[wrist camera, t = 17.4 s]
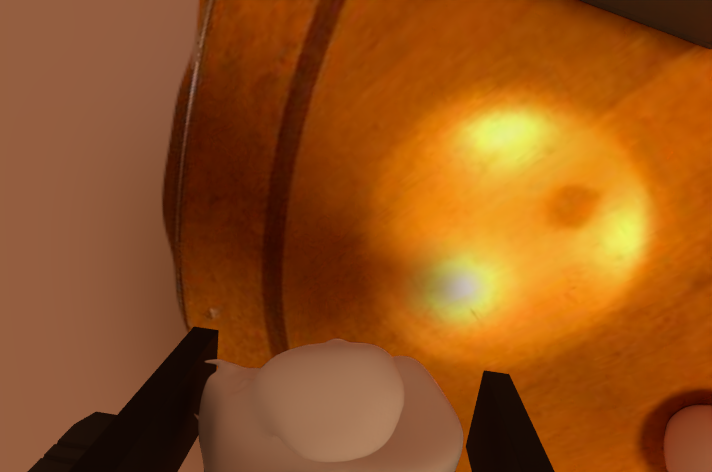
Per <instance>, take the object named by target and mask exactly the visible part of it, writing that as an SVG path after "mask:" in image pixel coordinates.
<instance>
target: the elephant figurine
mask: <svg viewBox="0 0 712 472" xmlns="http://www.w3.org/2000/svg"><path fill="white" fill-rule="evenodd" d="M205 362H206V363H212V364H216V365H218V370H217V371H216V372H215V373H213V374H212V375H211V376H210V377H209V378H208V380H207V382H206V384H205V387H204V390H203V394H202V398H201V403H200V409H199V416H198V415H196V414H194V415H195V416H196V418H197V419H198V433H199V442H200V448H201V452H202V457H203V464H204V472H455V469H456V467H457V464H458V461H459V458H460V455H461V451H462V446H463V431H462V427H461V424H460V421H459V419H458V417H457V415H456V413H455V411H454V409H453V407H452V406H451V404H450V403H449V401H448V399H447V398H446V396H445V394H444V393H443V391H442V390H441V388H440V387H439V385H438V384H437V382H436V381H435V380H434V378H433V377H432V376H431V374H430V373H429V372H428V371H427V370H426V368H425V367H424V366H423V365H422V364H421V363H420V362H418V361H417V360H415V359H413V358H410V357H407V356H395V357H392V356H391V355H390V354H389V353H388V352H387V351H385V350H384V349H383V348H381V347H379V346H376V345H373V344H368V343H357V342H348V341H346V340H343V339H331V340H329V341H327V342H325V343H318V344H311V345H305V346H300V347H297V348H293V349H290V350H288V351H285V352H283V353H280V354H279V355H277V356H275V357H273V358H272V359H270V360H269V361H268V362H267V363H266V364H265V365H264V366H263V367H262V368H245V367H241V366H239V365H236V364H234V363H231V362H227V361H224V360H220V359H213V360H207V361H205Z"/></svg>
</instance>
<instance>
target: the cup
mask: <svg viewBox="0 0 712 472" xmlns="http://www.w3.org/2000/svg"><path fill="white" fill-rule="evenodd" d="M663 448H664V459H665V464H666V469H667V472H712V405H692V406H688V407H686V408H683V409H681V410H680V411H678V412H677V413H675V414H674V415H673V416H672V417H671V419H670V420H669V421H668V423H667V426H666V429H665V435H664V447H663Z"/></svg>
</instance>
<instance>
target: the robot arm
mask: <svg viewBox="0 0 712 472" xmlns="http://www.w3.org/2000/svg"><path fill="white" fill-rule="evenodd" d="M218 332H219V330H213V329H206V328H200V327H193V328H192V330H191V331H190V332H189V333H188V334H187V335H186V337H185V338H184V339H183V340H182V341H181V342H180V343H179V345H178V346H177V347H176V348H175V349H174V351H173V352H172V353H171V354H170V355H169V356H168V357H167V358H166V360H165V361H164V362H163V363H162V364H161V365H160V366H159V368H158V369H157V370H156V371H155V372H154V373H153V374H152V376H151V377H150V378H149V379H148V380H147V381H146V382H145V384H144V385H143V386H142V387H141V388H140V390H139V391H138V392H137V393H136V394H135V395H134V396H133V397H132V399H131V400H130V401H129V402H128V403H127V404H126V406H125V407H124V408H123V409H122V410H121V411H120V412H119V414H118V415H114V414H107V413H101V412H95V413H93V414H91V415H90V416H88V417H86V418H84V419H83V420H81V421H79V422H77V423H76V424H74V425H73V426H72V427H71V428H70V429H69V430H68V431H67V432H66V433H65V434H64V435H63V436H62V437H61V438H60V439H59V440H58V443H57V444H54V445H53V446H52V447H51V448H50V449H49V450H48V451H47V452H46V454H44V457H43V458H41V459H40V460H39V461H38V462H37V463H36V464H35V465H34V466H33V467H32V468H31V469H30V470H29V471H28V472H178V470H179V468H180V466H181V464H182V463H183V461H184V459H185V458H186V456H187V454H188V452H189V450H190V449H191V447H192V445H193V444H194V442H195V440H196V438H197V436H198V435H199V433H198V419H197V418H196V416H195V415H194V414H196V415H198V416H199V409H200V403H201V398H202V394H203V390H204V387H205V384H206V382H207V380H208V378H209V377H210V376H211V375H212V374H213V373H215V372H216V367H217V365H216V364H212V363H206V362H205V361H207V360H213V359H217V350H218ZM466 449H467V453H468V457H469V462H470V466H471V470H472V472H554V470H553V467H552V465H551V463H550V461H549V459H548V457H547V455H546V452H545V450H544V448H543V446H542V444H541V442H540V440H539V437H538V435H537V433H536V431H535V429H534V427H533V424H532V422H531V420H530V418H529V416H528V414H527V412H526V409H525V407H524V405H523V403H522V401H521V399H520V397H519V394H518V392H517V390H516V388H515V386H514V384H513V382H512V379H511V377H510V375H509V374H504V373H497V372H491V371H484V372H483V376H482V380H481V385H480V389H479V393H478V397H477V401H476V406H475V410H474V414H473V418H472V422H471V427H470V431H469V435H468V439H467V443H466Z"/></svg>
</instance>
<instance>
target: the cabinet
mask: <svg viewBox="0 0 712 472" xmlns="http://www.w3.org/2000/svg"><path fill="white" fill-rule="evenodd" d="M581 1H583V2H586V3H589V4H591V5H594V6H597V7H599V8H602V9H605V10H607V11H610V12H613V13H615V14H618V15H621V16H623V17H626V18H629V19H631V20H634V21H637V22H639V23H642V24H645V25H647V26H650V27H653V28H655V29H658V30H661V31H663V32H666V33H669V34H672V35H674V36H677V37H680V38H682V39H685V40H688V41H690V42H693V43H696V44H698V45H701V46H704V47H706V48H709V49H712V0H581Z"/></svg>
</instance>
